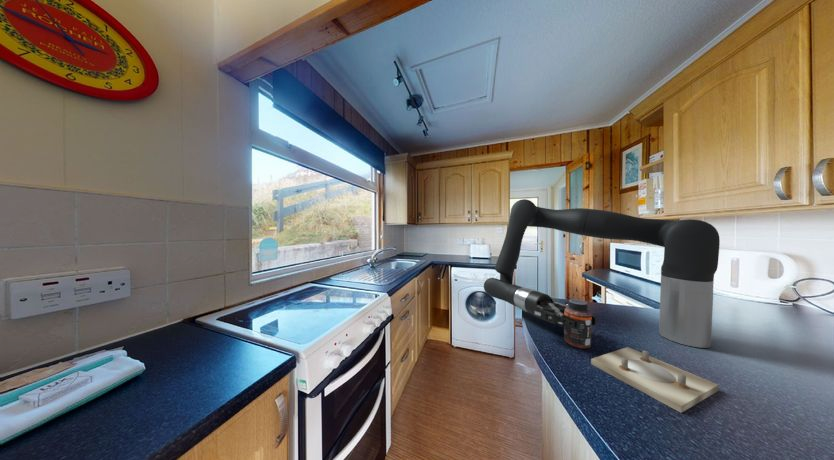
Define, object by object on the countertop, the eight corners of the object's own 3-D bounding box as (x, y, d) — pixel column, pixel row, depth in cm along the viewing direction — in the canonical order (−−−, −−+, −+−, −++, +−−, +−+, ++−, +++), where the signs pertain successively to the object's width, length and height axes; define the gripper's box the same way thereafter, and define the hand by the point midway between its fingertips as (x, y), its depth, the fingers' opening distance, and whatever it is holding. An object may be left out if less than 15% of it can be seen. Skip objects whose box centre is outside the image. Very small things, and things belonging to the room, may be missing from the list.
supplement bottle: (596, 351, 56) (597, 306, 55) (569, 348, 57) (570, 304, 57) (583, 339, 62) (584, 298, 61) (559, 336, 63) (560, 297, 62)
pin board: (627, 351, 56) (627, 339, 56) (718, 390, 43) (718, 374, 42) (591, 364, 51) (591, 350, 50) (681, 413, 38) (681, 394, 37)
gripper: (515, 292, 70) (568, 312, 54) (548, 288, 75) (605, 305, 59) (515, 316, 70) (568, 343, 54) (548, 310, 75) (605, 332, 59)
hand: (587, 323), depth 57 cm, fingers closed on supplement bottle, 6 cm apart
